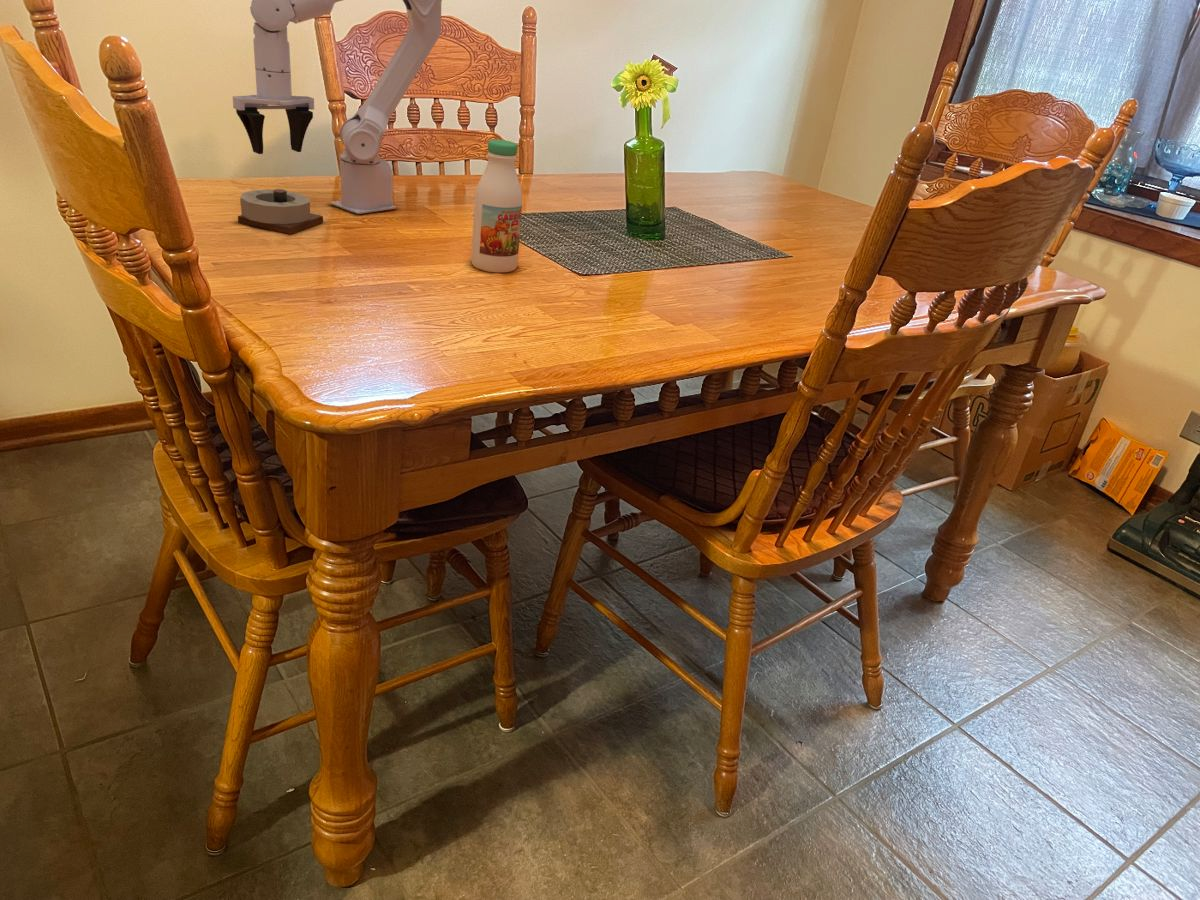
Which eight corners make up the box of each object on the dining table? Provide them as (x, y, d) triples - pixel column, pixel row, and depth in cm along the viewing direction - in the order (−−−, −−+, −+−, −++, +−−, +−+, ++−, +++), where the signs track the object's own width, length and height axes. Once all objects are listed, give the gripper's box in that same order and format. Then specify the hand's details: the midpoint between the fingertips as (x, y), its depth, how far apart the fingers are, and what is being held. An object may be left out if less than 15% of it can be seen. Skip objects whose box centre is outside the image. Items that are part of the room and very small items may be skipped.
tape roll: (310, 208, 149) (309, 191, 148) (310, 225, 140) (309, 208, 139) (244, 204, 146) (243, 187, 144) (239, 222, 137) (238, 203, 135)
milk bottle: (462, 266, 136) (469, 139, 126) (484, 256, 142) (492, 134, 133) (503, 277, 134) (514, 149, 124) (524, 266, 140) (535, 144, 131)
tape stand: (273, 211, 148) (271, 180, 146) (323, 222, 147) (322, 191, 144) (238, 223, 140) (235, 190, 137) (290, 234, 138) (288, 201, 136)
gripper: (246, 73, 135) (252, 158, 141) (323, 74, 145) (325, 154, 152) (223, 65, 138) (230, 149, 145) (300, 68, 149) (303, 146, 155)
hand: (277, 151), depth 149 cm, fingers open, 7 cm apart
